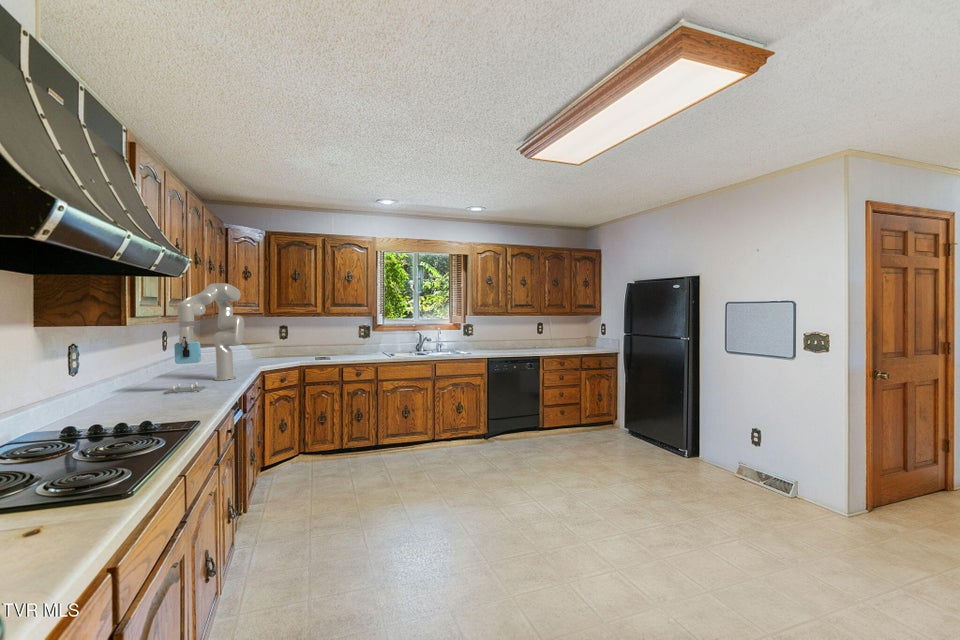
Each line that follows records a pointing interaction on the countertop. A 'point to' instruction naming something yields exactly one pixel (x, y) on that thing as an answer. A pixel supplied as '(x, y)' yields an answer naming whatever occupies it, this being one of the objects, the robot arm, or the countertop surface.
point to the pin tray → (185, 388)
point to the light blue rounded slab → (193, 350)
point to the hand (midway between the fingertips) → (187, 356)
